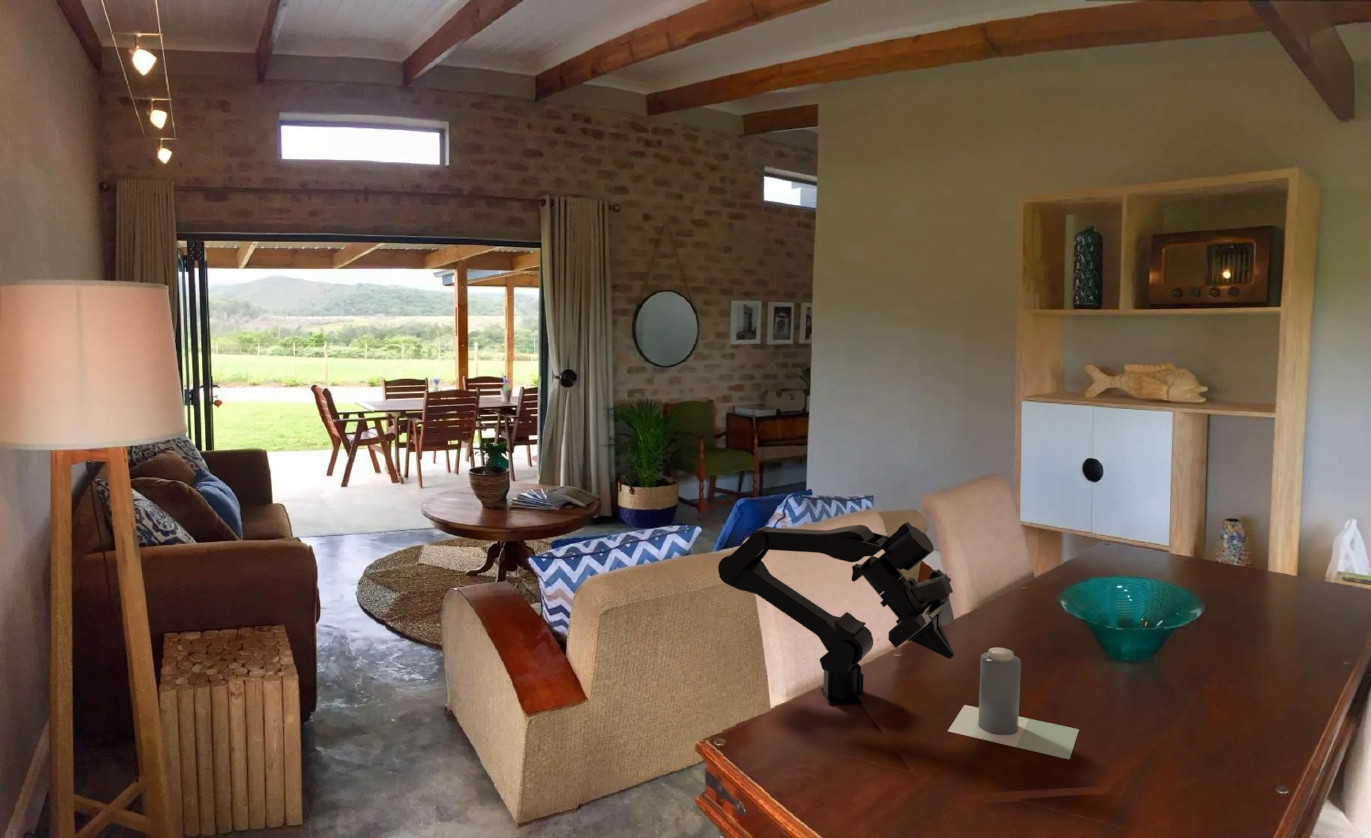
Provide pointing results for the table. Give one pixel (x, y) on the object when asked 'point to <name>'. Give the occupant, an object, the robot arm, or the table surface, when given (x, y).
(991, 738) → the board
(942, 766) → the table surface
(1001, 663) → the jar
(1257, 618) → the table surface
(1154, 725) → the table surface
